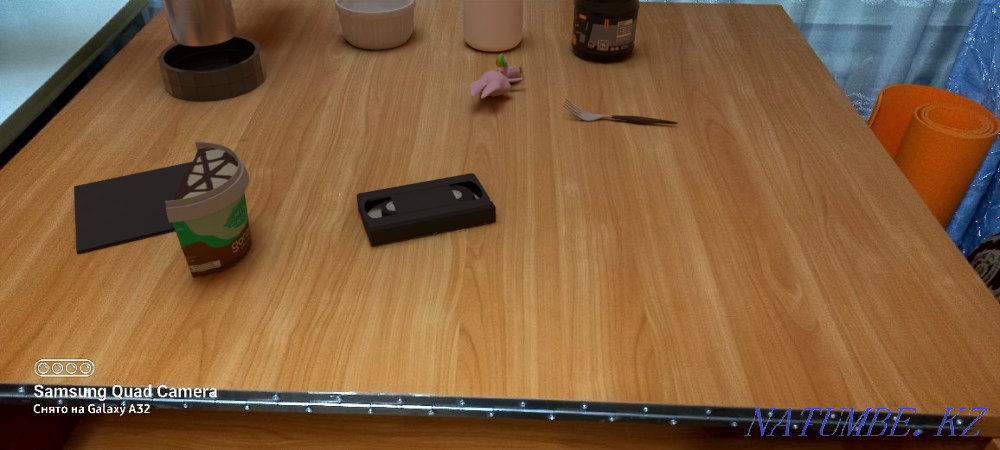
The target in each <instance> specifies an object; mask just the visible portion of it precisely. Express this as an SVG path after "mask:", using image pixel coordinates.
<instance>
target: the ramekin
mask: <svg viewBox="0 0 1000 450" xmlns="http://www.w3.org/2000/svg"><path fill="white" fill-rule="evenodd" d="M334 3H335V10H336V11H337V13H338V18H339V23H340V28H341V32H342V35H343V37H344V39H345V40H346V41H347V42H348V44H350V45H352V46H353V47H356V48H360V49H363V50H374V51H375V50H376V51H377V50H388V49H393V48H396V47H400V46H402V45H404V44H405V43H407V41H409V39H410V38H411V36H412V34H413V31H414V17H415V8H416V5H417V4H416V0H334Z"/></svg>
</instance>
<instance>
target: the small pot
mask: <svg viewBox="0 0 1000 450" xmlns="http://www.w3.org/2000/svg"><path fill="white" fill-rule="evenodd" d="M162 3H163V7H164V11H165V15H166V18H167V23H168V26H169V30H170V34H171V38H172V41H174V42H175V43H178V44H181V45H185V46H208V45H214V44H219V43H222V42H225V41H228V40H230V39H232V38H233V37H234V36H236V35H238V26H237V22H236V15H235V12H234V7H233V6H234V5H233V1H232V0H162Z"/></svg>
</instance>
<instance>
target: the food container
mask: <svg viewBox="0 0 1000 450" xmlns="http://www.w3.org/2000/svg"><path fill="white" fill-rule="evenodd" d="M194 143H195V148H196V152H195V156H194V158H193V160H192V161H191V162H192V164H191V165H190V166H189V168H188V169H187V170H186V172H185V173H184V176H183V178H182V181H181V184H180V187H179V189H178V192H177V194H176V196H175V198H174V200H172V201H165V203H166V207H167V208H166V212H167V216H168V221H169V222H172V223H173V226H174V229H175V231H174V232H175V234H176V236H177V239H178V242H179V245H180V247H181V248H180V249H181V250H182V252H183V256H184V259H185V261H186V263H187V266H188V269H189V272H190V274H191V278H203V277H207V276H211V275H217V274H219V273H222V272H224V271H226V270H229V269H230V268H233V267H235V266H236V265H238V264H239V263H240V262H241V261H243V260H244V259H245V258H246V257H247V256H248V254H249V253H250V251H251V249H252V245H253V243H252V234H251V228H250V222H249V214H248V206H247V197H246V191H247V188H248V187H249V183H250V174H249V172H248V170H247V168H246V166H245V163H244V162H243V160H242V159H241V158H240V156H239V155H238V154H237V152H235V150H233V149H232V148H231V147H228V146H226V145H223V144H220V143H217V142H208V141H195V142H194Z"/></svg>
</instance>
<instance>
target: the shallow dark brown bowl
mask: <svg viewBox="0 0 1000 450" xmlns="http://www.w3.org/2000/svg"><path fill="white" fill-rule="evenodd" d="M157 61H158V65H159V69H160V71H161V77H162V79H163V84H164V87H165V90H166V93H168V94H169V95H170V96H171V97H173V98H176V99H179V100H182V101H188V102H197V103H202V102H203V103H204V102H218V101H224V100H228V99H229V100H230V99H233V98H237V97H240V96H242V95H246V94H248V93H251V92H252V91H254V90H255V89H257V88H258V87H260V86H261V85H262V84H263V83H264V82H265V79H266V75H267V73H266V68H265V67H266V66H265V63H264V56H263V51H262V47H261V45H260V44H259V42H258V41H257V40H255V39H254V38H251V37H248V36H244V35H240V34H236V36H234V37H233V38H232V39H230V40H228V41H225V42H222V43H219V44H214V45H208V46H185V45H181V44H178V43H176V42H175V43H173V44H171V45H169V46H167V47H166V48H165V49H162V51H160V53H159V55H158V56H157Z"/></svg>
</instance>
